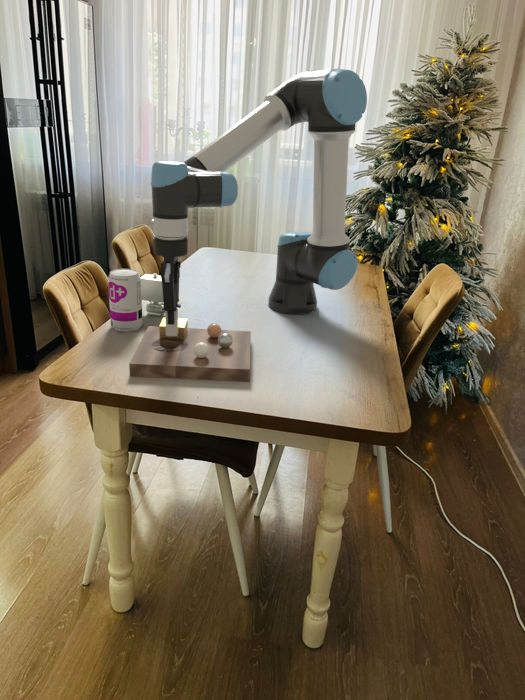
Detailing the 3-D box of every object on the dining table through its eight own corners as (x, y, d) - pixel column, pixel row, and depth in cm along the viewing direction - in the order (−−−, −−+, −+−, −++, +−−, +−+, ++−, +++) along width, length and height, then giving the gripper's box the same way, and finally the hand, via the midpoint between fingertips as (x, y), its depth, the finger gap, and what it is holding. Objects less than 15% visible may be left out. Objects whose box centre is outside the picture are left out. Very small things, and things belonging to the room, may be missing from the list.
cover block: (187, 329, 128) (187, 318, 127) (184, 338, 123) (184, 327, 121) (163, 328, 128) (163, 317, 127) (159, 337, 122) (159, 326, 121)
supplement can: (126, 335, 130) (123, 278, 124) (104, 327, 134) (100, 272, 128) (149, 326, 137) (147, 272, 131) (127, 319, 141) (124, 266, 134)
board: (250, 342, 131) (250, 331, 130) (249, 381, 111) (249, 369, 110) (149, 336, 130) (148, 326, 129) (129, 376, 110) (129, 363, 109)
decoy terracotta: (221, 334, 127) (222, 321, 125) (220, 340, 124) (221, 326, 122) (207, 334, 127) (207, 320, 125) (206, 339, 123) (206, 326, 122)
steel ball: (232, 344, 121) (233, 331, 120) (232, 350, 118) (232, 337, 117) (218, 344, 121) (218, 330, 120) (217, 350, 118) (217, 336, 117)
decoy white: (209, 354, 116) (210, 340, 114) (208, 360, 113) (208, 346, 111) (194, 353, 116) (194, 339, 114) (192, 360, 112) (192, 345, 111)
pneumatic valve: (172, 319, 142) (172, 278, 137) (133, 314, 144) (131, 273, 139) (179, 313, 147) (179, 273, 142) (141, 308, 149) (140, 268, 144)
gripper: (158, 229, 118) (160, 324, 127) (147, 241, 106) (151, 345, 115) (190, 231, 118) (190, 325, 127) (183, 243, 106) (184, 346, 116)
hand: (172, 334), depth 121 cm, fingers closed
